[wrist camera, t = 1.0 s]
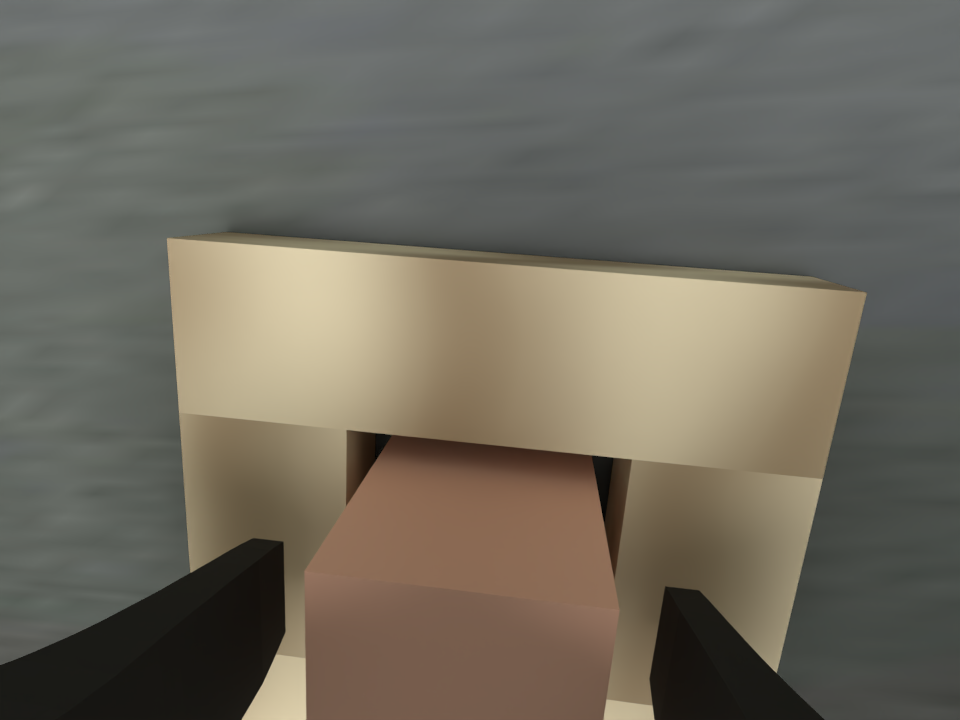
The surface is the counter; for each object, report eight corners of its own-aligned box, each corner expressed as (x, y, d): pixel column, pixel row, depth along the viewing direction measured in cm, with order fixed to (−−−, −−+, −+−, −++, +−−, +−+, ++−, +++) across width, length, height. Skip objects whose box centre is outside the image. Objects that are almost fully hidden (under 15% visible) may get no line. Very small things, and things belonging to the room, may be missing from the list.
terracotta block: (588, 439, 14) (619, 611, 8) (568, 602, 15) (583, 852, 9) (401, 420, 14) (304, 571, 9) (396, 581, 15) (307, 809, 10)
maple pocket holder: (812, 276, 12) (867, 292, 10) (710, 758, 16) (735, 845, 14) (226, 232, 13) (166, 237, 11) (246, 692, 17) (203, 763, 15)
